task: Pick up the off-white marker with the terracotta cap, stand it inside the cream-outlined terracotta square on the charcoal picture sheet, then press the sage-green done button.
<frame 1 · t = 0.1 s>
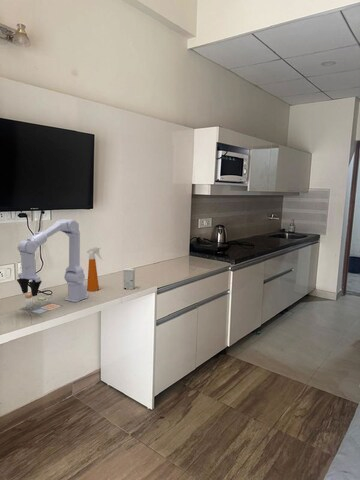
hand: (29, 294, 162), 10 cm above the table, tool pointing down, fingers open, 7 cm apart
skincare box: (129, 288, 209), on the table
spray bottle: (95, 290, 205), on the table
done button: (41, 299, 179), point 2 cm above the table, slide at 0.0 cm
marker: (29, 308, 172), on the table, touching picture sheet
button housing: (42, 303, 179), on the table
picture sheet: (41, 307, 174), on the table
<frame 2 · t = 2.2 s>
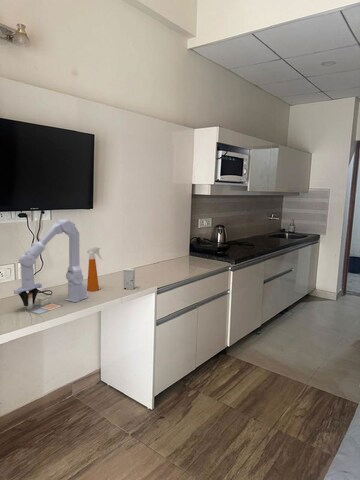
hand: (29, 304, 172), 2 cm above the table, tool pointing down, fingers closed on marker, 3 cm apart
marker: (29, 308, 172), on the table, touching gripper, picture sheet
everything else where it was.
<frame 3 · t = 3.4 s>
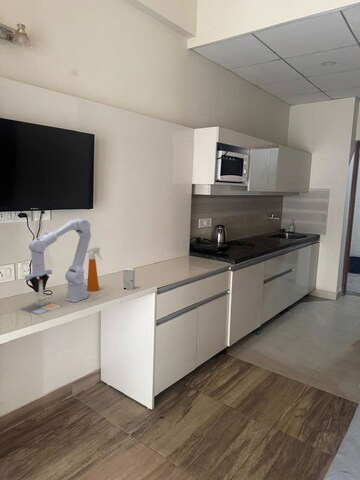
hand: (39, 290, 172), 9 cm above the table, tool pointing down, fingers closed on marker, 3 cm apart
marker: (39, 294, 173), point 7 cm above the table, touching gripper
everything else where it was.
when the fingers open (3 cm above the table, at t = 5.1 s): marker drops 2 cm, resting on picture sheet.
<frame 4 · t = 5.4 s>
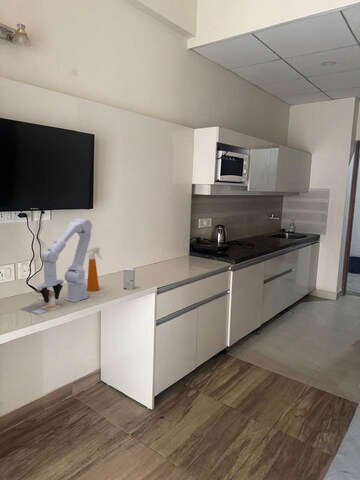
hand: (51, 300, 174), 3 cm above the table, tool pointing down, fingers open, 6 cm apart
marker: (51, 306, 175), resting on picture sheet
everything else where it was.
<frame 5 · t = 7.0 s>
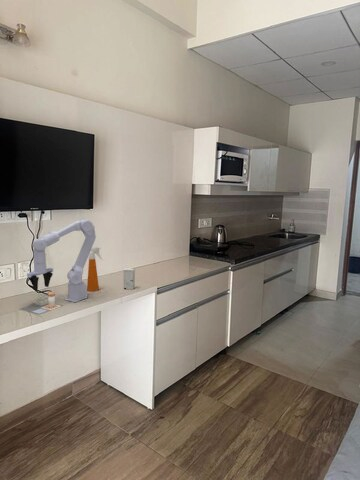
hand: (41, 288, 178), 8 cm above the table, tool pointing down, fingers open, 6 cm apart
nothing on the table moved.
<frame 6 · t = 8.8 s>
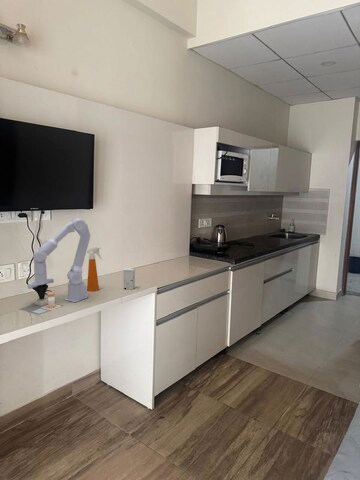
hand: (41, 298, 179), 3 cm above the table, tool pointing down, fingers closed, pressing on done button
done button: (41, 300, 179), point 2 cm above the table, slide at 0.3 cm, touching gripper
everything else where it was.
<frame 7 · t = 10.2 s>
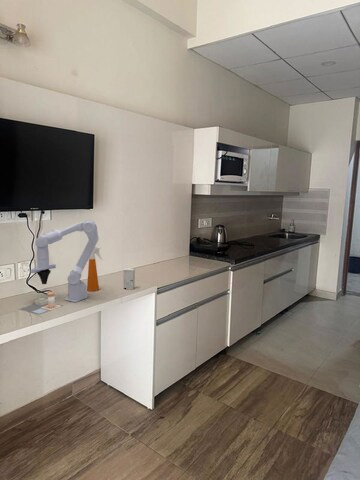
hand: (44, 283, 183), 9 cm above the table, tool pointing down, fingers closed
done button: (41, 300, 179), point 2 cm above the table, slide at 0.3 cm
everything else where it was.
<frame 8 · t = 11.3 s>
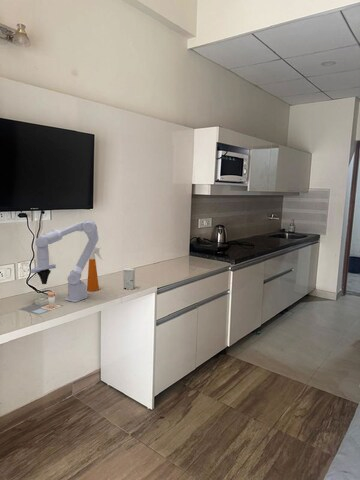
hand: (44, 283, 183), 9 cm above the table, tool pointing down, fingers closed
nothing on the table moved.
at the end: marker 0.5 cm from the target spot on the picture sheet, point 0.1 cm above the picture sheet's base; marker tilted 2°; done button slide at 0.3 cm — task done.
